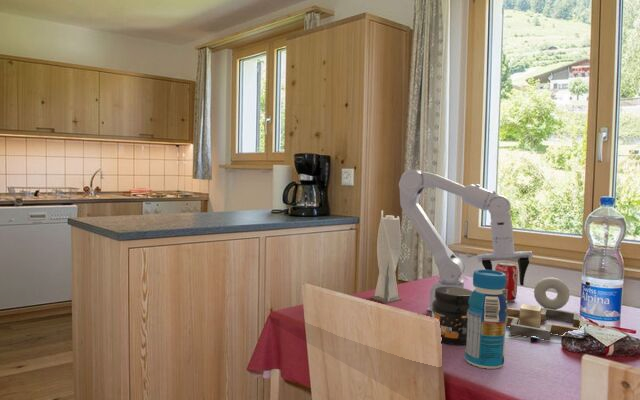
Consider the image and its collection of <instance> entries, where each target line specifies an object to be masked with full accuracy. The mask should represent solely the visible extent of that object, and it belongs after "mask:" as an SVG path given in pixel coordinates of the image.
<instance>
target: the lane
mask: <svg viewBox="0 0 640 400" xmlns="http://www.w3.org/2000/svg"><path fill="white" fill-rule="evenodd" d="M506 313H507V315H508V321H507V323H506V327H507V326H510V327H509V335H512V334H516V335H515V336H517V335H521V336H520V337H523V336H526V337H525V338H528V337H531V336H536V337H539V338H541V339H544V340H543V341H545V340H551V337H552V334H558V335H563V334H564V333H565V332H568V331H573V330H578V329H580V328H581V327H582V326H584V325H585V326H586V321H585V322H584V321H583V320H582V319H581V318H580V317H579V316H580V314H579V312H572V311H567V310H561V309H556V310H555V309H549V308H544V307H542V308H541V322H540V324H546V326H545V328H540V327H539V328H535V327H529V326H523V325H519V316H520V308H519V309H518V308H512V307H508V308H507V309H506ZM547 319H552V320H557V321H565V322H571V323H572V326H568V325H563V324H562V325H561V324H556V323H551V322H547V323H546V320H547ZM579 319H580V321H579ZM579 326H580V328H579ZM551 333H552V334H551ZM558 335H557V336H558Z"/></svg>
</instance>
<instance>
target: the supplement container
mask: <svg viewBox="0 0 640 400" xmlns="http://www.w3.org/2000/svg"><path fill="white" fill-rule="evenodd" d="M473 291H474V290H471V289H467V288H460V287H438V288H436V289H435V295H434V297H435V299H434V300H433V302H432V311H431V318H432V317H434V318H437V319H439V321H440V328H441V337H442V342H441V343H444V344H449V345H456V346H457V345H466V342H467V322H468V318H467V310H468V309H469V303H468V300H469V297H470V295H471V294H472V292H473Z"/></svg>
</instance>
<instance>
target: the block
mask: <svg viewBox="0 0 640 400" xmlns="http://www.w3.org/2000/svg"><path fill="white" fill-rule="evenodd" d="M542 308H543V307H542V306H539V305H538V306H537V305H532V304H531V305H530V304H525V303H522V304H521V305H520V307H519V309H520V316H519V323H518V325H523V326H529V327H535V328H540V326H541V323H540V322H541V311H542Z"/></svg>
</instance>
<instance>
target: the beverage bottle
mask: <svg viewBox="0 0 640 400" xmlns="http://www.w3.org/2000/svg"><path fill="white" fill-rule="evenodd" d="M472 274H473V275H472V286H473V288H474V290H472V291H473V292H472V294H471V295H470V297H469V300H468V303H469V309H468V310H467V318H468V322H467V342H466V344H465V345H466V346H465V351H464V352H465V353H464V357H465V358H464V360H465V361H466V362H467V363H468V364H470V365H471V364H472V366H474V367H476V366H477V367H476V368H479V369H485V368H486V369H487V370H496V369H500V368H502V367H503V366H504V364H505V347H506V346H505V345H506V344H505V343H506V332H507V330H506V329H507V326H506V323H507V321H508V315H507V313H506V309H507V308H509V307H508V306H509V305H508V303H509V302H507V300H506V297H505V295H504V294H503V292H502V290H504V289H505V286H506V274H504V273H502V272H499V271H495V270H494V269H492V270H486V269H476V270H474V271H473V273H472Z"/></svg>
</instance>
